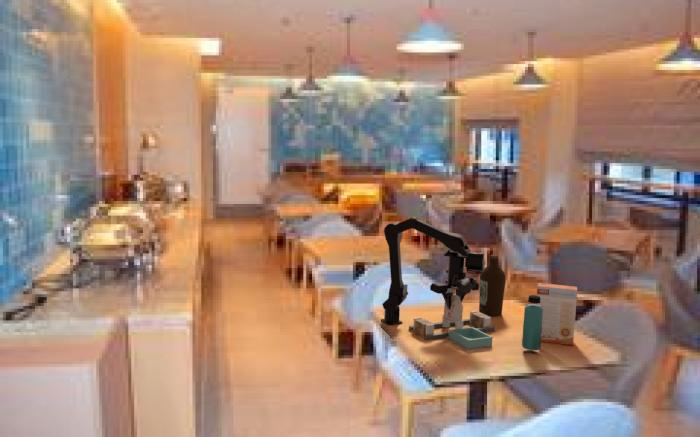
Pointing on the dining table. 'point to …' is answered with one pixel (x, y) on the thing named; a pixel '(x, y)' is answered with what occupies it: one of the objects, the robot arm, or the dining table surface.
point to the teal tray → (470, 338)
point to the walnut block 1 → (421, 326)
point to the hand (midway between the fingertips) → (453, 308)
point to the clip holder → (447, 323)
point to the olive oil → (492, 288)
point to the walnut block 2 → (477, 319)
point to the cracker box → (557, 312)
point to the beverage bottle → (532, 324)
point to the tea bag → (454, 309)
